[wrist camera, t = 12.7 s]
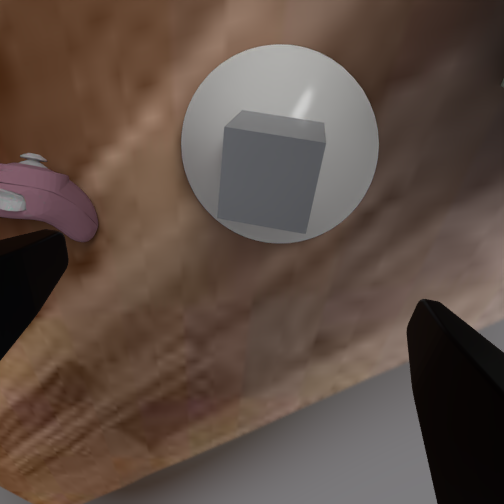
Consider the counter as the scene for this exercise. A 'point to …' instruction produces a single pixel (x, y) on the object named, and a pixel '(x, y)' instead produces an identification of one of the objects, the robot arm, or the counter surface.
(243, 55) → the saucer
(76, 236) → the video game controller
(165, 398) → the counter surface
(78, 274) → the counter surface
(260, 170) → the slate cube
